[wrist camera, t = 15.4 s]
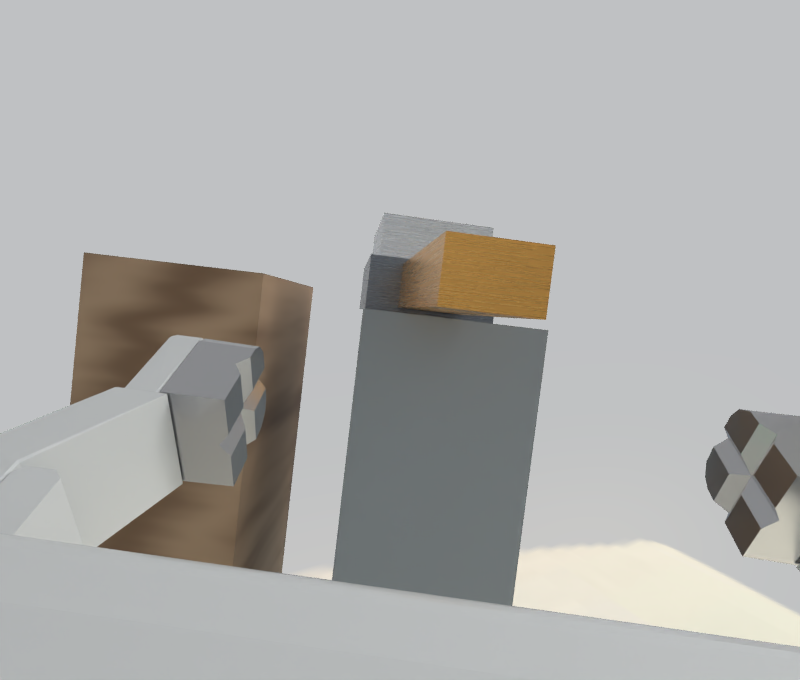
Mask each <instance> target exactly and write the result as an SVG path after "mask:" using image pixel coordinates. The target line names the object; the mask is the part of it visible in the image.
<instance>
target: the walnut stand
mask: <svg viewBox="0 0 800 680" xmlns="http://www.w3.org/2000/svg"><path fill="white" fill-rule="evenodd" d="M312 293H313V287H309V286H306V285H302V284H298V283H295V282H292V281H288V280H285V279H281V278H278V277H274V276H270V275H267V274H263V273H254V272H246V271H237V270H229V269H219V268H212V267H203V266H195V265H185V264H177V263H169V262H160V261H152V260H143V259H134V258H125V257H118V256H109V255H100V254H92V253H84V258H83V269H82V281H81V292H80V302H79V313H78V325H77V336H76V347H75V358H74V369H73V380H72V391H71V402H70V405H72V404H74V403H77V402H79V401H82V400H84V399H87V398H89V397H92V396H94V395H97V394H99V393H102V392H104V391H107V390H109V389H112V388H114V387H121V388H125V387H126V386H127V385H128V384H129V383H130V381H131V380H132V379H133V378H134V377H135V376H136V375H137V373H138V372H139V371H140V370H141V369H142V368H143V367H144V366H145V364H146V363H147V362H148V361H149V360H150V359H151V358H152V357H153V355H154V354H155V353H156V352H157V351H158V350H159V349H160V348H161V346H162V345H163V344H164V343H165V342H166V341H167V340H168V339H169V338H170V337H171V336H175V335H182V336H190V337H198V338H203V339H212V340H219V341H225V342H232V343H239V344H245V345H252V346H259V347H260V348H261V349H262V351H263V354H264V366H265V368H264V370H263V372H262V374H261V375H260V377H259V380H260V382H261V383H262V384H263V385H264V386H265V388H266V408H265V415H264V419H263V423H262V427H261V429H260V432H259V434H258V436H257V438H256V440H254V441H252V442H251V443H249V444H247V460H246V462H245V464H244V466H243V468H242V470H241V472H240V474H239V476H238V478H237V481H236V483H235V485H234V486H225V485H216V484H207V483H198V482H188V481H183V484H182V485H180V486H179V487H178V488H176V489H175V490H173V491H172V492H171V493H169V494H168V495H167V496H165V497H164V498H163V499H161V500H160V501H159V502H157V503H156V504H154V505H153V506H152V507H150V508H149V509H148V510H146V511H145V512H144V513H142V514H141V515H139V516H138V517H137V518H135V519H134V520H133V521H131V522H130V523H129V524H127V525H126V526H125V527H123V528H122V529H120V530H119V531H118V532H116V533H115V534H114V535H112V536H111V537H110V538H108V539H107V540H105V541H104V542H103V543H101V544H100V545H99V546H97V547H100V548H107V549H114V550H121V551H128V552H135V553H142V554H150V555H157V556H164V557H171V558H178V559H185V560H192V561H199V562H206V563H213V564H220V565H227V566H234V567H241V568H248V569H255V570H262V571H269V572H276V573H282V565H283V555H284V547H285V538H286V528H287V520H288V510H289V501H290V492H291V483H292V474H293V465H294V456H295V446H296V438H297V429H298V420H299V410H300V402H301V393H302V383H303V374H304V365H305V356H306V347H307V338H308V329H309V320H310V311H311V302H312Z"/></svg>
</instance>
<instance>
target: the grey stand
mask: <svg viewBox="0 0 800 680" xmlns="http://www.w3.org/2000/svg"><path fill="white" fill-rule="evenodd" d="M547 335H548V330H541V329H532V328H523V327H515V326H507V325H498V324H490V323H481V322H473V321H464V320H456V319H448V318H439V317H431V316H422V315H414V314H405V313H397V312H388V311H380V310H371V309H363V316H362V325H361V334H360V342H359V351H358V360H357V368H356V378H355V386H354V395H353V404H352V412H351V421H350V430H349V438H348V447H347V456H346V464H345V473H344V482H343V491H342V499H341V508H340V517H339V525H338V535H337V543H336V552H335V560H334V569H333V577H332V580H333V581H340V582H347V583H354V584H361V585H368V586H375V587H382V588H389V589H396V590H403V591H410V592H417V593H424V594H431V595H438V596H445V597H452V598H459V599H467V600H474V601H481V602H488V603H495V604H502V605H509V606H512V603H513V595H514V587H515V580H516V572H517V564H518V557H519V549H520V542H521V534H522V526H523V519H524V510H525V503H526V496H527V488H528V480H529V473H530V465H531V457H532V450H533V442H534V435H535V427H536V419H537V412H538V404H539V396H540V389H541V381H542V373H543V366H544V358H545V351H546V343H547Z"/></svg>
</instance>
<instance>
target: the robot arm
mask: <svg viewBox="0 0 800 680" xmlns="http://www.w3.org/2000/svg"><path fill="white" fill-rule="evenodd" d="M264 368H265V366H264V354H263V351H262V349H261V348H260V347H259V346H252V345H245V344H239V343H232V342H225V341H219V340H212V339H203V338H198V337H190V336H182V335H175V336H171V337H170V338H169V339H168V340H167V341H166V342H165V343H164V344H163V345H162V346H161V348H160V349H159V350H158V351H157V352H156V353H155V354H154V355H153V357H152V358H151V359H150V360H149V361H148V362H147V363H146V364H145V366H144V367H143V368H142V369H141V370H140V371H139V372H138V373H137V375H136V376H135V377H134V378H133V379H132V380H131V381H130V383H129V384H128V385H127V386H126V387H125V388H121V387H114V388H112V389H109V390H107V391H104V392H102V393H99V394H97V395H94V396H92V397H89V398H87V399H84V400H82V401H79V402H77V403H74V404H72V405H70V406H67V407H65V408H62V409H60V410H57V411H55V412H52V413H50V414H47V415H45V416H43V417H40V418H38V419H35V420H33V421H30V422H28V423H25V424H23V425H20V426H18V427H15V428H13V429H10V430H8V431H5V432H3V433H0V680H800V647H797V646H790V645H783V644H776V643H769V642H762V641H755V640H748V639H741V638H734V637H727V636H720V635H713V634H706V633H699V632H692V631H685V630H678V629H671V628H664V627H657V626H650V625H643V624H636V623H629V622H622V621H615V620H608V619H601V618H593V617H586V616H579V615H572V614H565V613H558V612H551V611H544V610H537V609H530V608H523V607H516V606H509V605H502V604H495V603H488V602H481V601H474V600H467V599H459V598H452V597H445V596H438V595H431V594H424V593H417V592H410V591H403V590H396V589H389V588H382V587H375V586H368V585H361V584H354V583H347V582H340V581H333V580H326V579H319V578H312V577H304V576H297V575H290V574H283V573H276V572H269V571H262V570H255V569H248V568H241V567H234V566H227V565H220V564H213V563H206V562H199V561H192V560H185V559H178V558H171V557H164V556H157V555H150V554H142V553H135V552H128V551H121V550H114V549H107V548H100V547H97V546H99V545H100V544H101V543H103V542H104V541H105V540H107V539H108V538H110V537H111V536H112V535H114V534H115V533H116V532H118V531H119V530H120V529H122V528H123V527H125V526H126V525H127V524H129V523H130V522H131V521H133V520H134V519H135V518H137V517H138V516H139V515H141V514H142V513H144V512H145V511H146V510H148V509H149V508H150V507H152V506H153V505H154V504H156V503H157V502H159V501H160V500H161V499H163V498H164V497H165V496H167V495H168V494H169V493H171V492H172V491H173V490H175V489H176V488H178V487H179V486H180V485H182V484H183V481H188V482H198V483H207V484H216V485H225V486H234V485H235V483H236V481H237V478H238V476H239V474H240V472H241V470H242V468H243V466H244V464H245V462H246V460H247V444H249V443H251V442H252V441H254V440H256V438H257V436H258V434H259V432H260V429H261V427H262V423H263V419H264V415H265V408H266V388H265V386H264V385H263V384H262V383H261V382H260V380H259V377H260V375H261V374H262V372H263V370H264ZM724 428H725V430H726V433H727V436H728V439H726V440H724V441H723V442H721V443H719V444H718V445H716V446H714V448H713V449H712V452H711V454H710V456H709V458H708V460H707V463H706V475H705V478H706V483H707V487H708V490H709V492H710V494H711V496H712V498H713V500H714V501H715V502H716V503H717V504H718V505H719V506H721V507H722V508H723V509H724V510H726V511H727V512H728V516H727V518H726V521H725V524H726V526H727V528H728V529H729V531H730V533H731V535H732V537H733V539H734V541H735V543H736V545H737V547H738V549H739V550H740V552H741V554H742V556H744V557H749V558H756V559H761V560H768V561H774V562H780V563H786V564H792V565H798V566H797V569H798V570H800V416H793V415H784V414H775V413H767V412H758V411H750V410H740V409H739V410H738V411H736V412H735V413H734V414H733V415H731V417H730V418H729V420H728V422H727V424H726V425H725V427H724Z"/></svg>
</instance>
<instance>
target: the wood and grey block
mask: <svg viewBox="0 0 800 680" xmlns="http://www.w3.org/2000/svg"><path fill="white" fill-rule="evenodd" d="M492 236H493V228H490V227H482V226H475V225H468V224H461V223H453V222H446V221H439V220H431V219H424V218H417V217H410V216H402V215H395V214H388V213H384V215H383V217H382V220H381V222H380V225H379V227H378V230H377V232H376V235H375V240H374V249H373V254H372V255H371V256H370V258H369V260H368V262H367V264H366V266H365V268H364V276H363V285H362V293H361V302H360V309H371V310H380V311H388V312H397V313H405V314H414V315H422V316H431V317H439V318H448V319H456V320H464V321H473V322H481V323H490V324H493V317H508V318H526V319H544V320H545V319H546V315H547V307H548V299H549V291H550V284H551V276H552V269H553V261H554V254H555V245H547V244H540V243H532V242H525V241H518V240H511V239H504V238H495V237H492Z"/></svg>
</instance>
